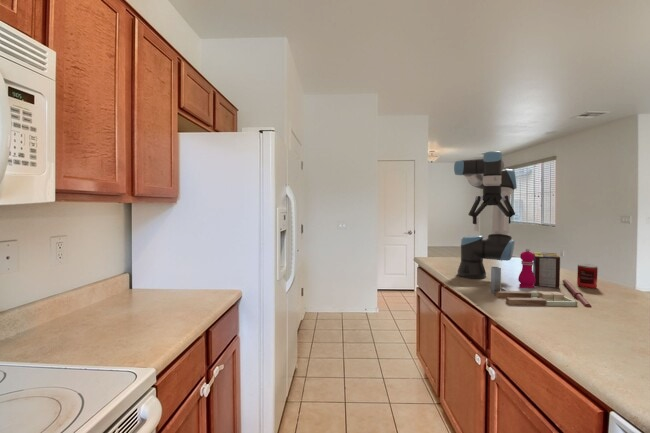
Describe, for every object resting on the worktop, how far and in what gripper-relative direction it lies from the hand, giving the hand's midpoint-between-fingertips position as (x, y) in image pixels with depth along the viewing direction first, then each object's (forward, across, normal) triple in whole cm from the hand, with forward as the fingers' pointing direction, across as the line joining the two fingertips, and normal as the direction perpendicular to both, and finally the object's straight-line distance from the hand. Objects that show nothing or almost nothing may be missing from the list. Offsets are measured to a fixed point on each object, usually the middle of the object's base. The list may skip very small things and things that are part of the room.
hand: (491, 230), depth 147 cm
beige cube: (+29, +15, -16) cm, 36 cm away
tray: (+29, +18, -16) cm, 38 cm away
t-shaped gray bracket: (+29, +2, -5) cm, 30 cm away
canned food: (+31, +53, +12) cm, 62 cm away
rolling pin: (+30, +37, -3) cm, 48 cm away
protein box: (+30, +36, +17) cm, 50 cm away
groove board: (+29, +5, -16) cm, 33 cm away
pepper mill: (+30, +21, +7) cm, 37 cm away
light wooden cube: (+29, +20, -16) cm, 38 cm away
